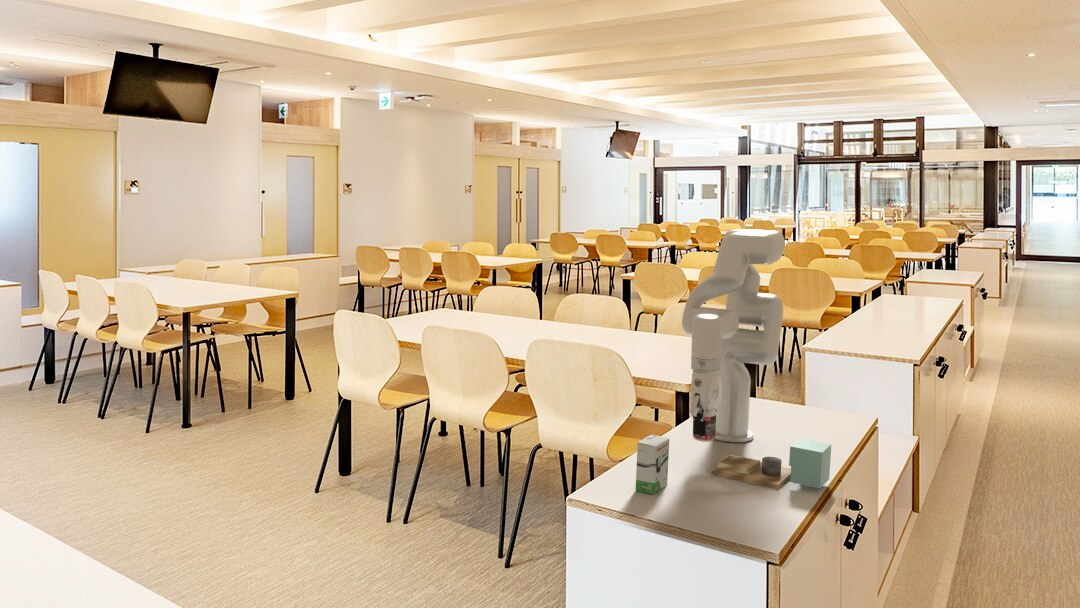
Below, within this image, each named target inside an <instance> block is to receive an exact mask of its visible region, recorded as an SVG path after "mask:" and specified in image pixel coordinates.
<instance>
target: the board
mask: <svg viewBox="0 0 1080 608" xmlns="http://www.w3.org/2000/svg"><path fill="white" fill-rule="evenodd" d="M761 461H762V462H761ZM782 463H783V462H782V459H781V458H779V457H776V456H764V457H762V459H761V460H759V459H755V458H750V457H744V456H739V455H735V454H730V453H729V454H727V455H726V456H724V457H723V458H721V459H720V460H718V461H717V462H716V466H714V467H713V468H712V469H711V473H710V474H711V475H713V476H717V477H721V478H727V479H730V480H734V481H740V482H745V483H749V484H753V485H757V486H761V487H767V488H771V489H774V490H775V489H776V490H779V489H780V488H781V487H782V486H783V485H785V484H786V483H787V482H788V481H790V476H791V467H786V466H782Z"/></svg>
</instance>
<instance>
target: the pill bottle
mask: <svg viewBox="0 0 1080 608" xmlns="http://www.w3.org/2000/svg"><path fill="white" fill-rule="evenodd" d="M698 408H702V406H699V407H698ZM702 409H703V408H702ZM698 412H699V413H700V414H701V415H702V411H699V410H698ZM704 421H706V432H705V436H699V435H694V434H693V433H692V438H693V439H694V440H696V441H698V442H705V443H707V442H708V443H709V442H713V441H715V440H716V439H715V436H716V411H715V410H714V408H712V409H711V410H709V411H706V413H705V419H704Z"/></svg>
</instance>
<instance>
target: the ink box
mask: <svg viewBox="0 0 1080 608" xmlns="http://www.w3.org/2000/svg"><path fill="white" fill-rule="evenodd" d="M669 450H670V438H669V437H664V436H661V435H655V434H650V435H648V436H646V437H643V439H641V440H639V441H638V442H637V450H636V470H635V472H636V473H635V491H636V492H641V493H645V494H651V495H655V494H656V493H658V492H659V491H660V490H661V489H663V488H664V487H666V486H667V485H668V478H669V476H668V473H669V452H670V451H669Z"/></svg>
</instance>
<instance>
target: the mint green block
mask: <svg viewBox="0 0 1080 608" xmlns="http://www.w3.org/2000/svg"><path fill="white" fill-rule="evenodd" d="M831 455H832V444H831V443H827V442H826V443H825V442H821V441H817V440H816V441H814V440H809V439H804V438H799V439H798V440H796V441H794V442H793V444H791V445H790V446H789V459H788V460H789V461H788V465H789V466H790V468H791V476H790V479H789V482H790V483H792V484H797V485H801V486H805V487H812V488H816V489H821V488H822V487H823V486H825V484H827V482H828V481H829V480H830V472H831V471H830V470H831Z"/></svg>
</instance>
